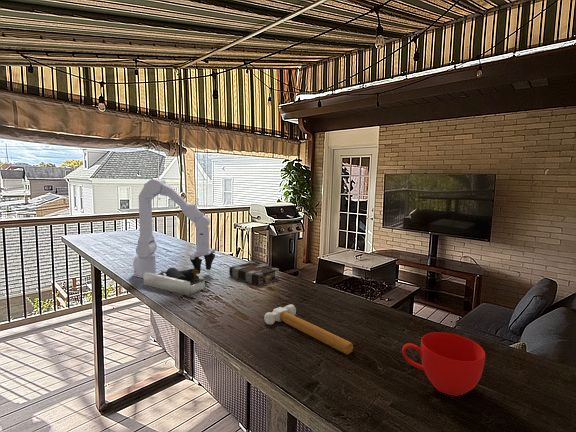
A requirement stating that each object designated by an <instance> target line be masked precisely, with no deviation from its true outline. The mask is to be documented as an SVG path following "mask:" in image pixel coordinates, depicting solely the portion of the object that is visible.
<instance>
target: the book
mask: <svg viewBox="0 0 576 432" xmlns="http://www.w3.org/2000/svg"><path fill="white" fill-rule="evenodd" d="M228 271H229V274H228V275H229V276H230V277H232V278H233V279H237V280H242V281H243V282H246V283H248V284H251V285H252V284H253V285H256V286H257V285H261V284H263V283H267V284H268V283H270V282H271V284H274V283H275V280H276V279H279V278H280V276H279V275H277V274H276V272H279V271H280V268H277V267H272V266H269V265H268V264H265V263H262V262H260V263H257V262H256V261H248V262H246V263H242V264H238V265H236V264H235V265H232V266H230V267H229V270H228Z"/></svg>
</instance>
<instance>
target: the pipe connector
mask: <svg viewBox="0 0 576 432" xmlns="http://www.w3.org/2000/svg"><path fill="white" fill-rule="evenodd" d="M165 276H167V277H171V278H175V279H180V280H184V281H188V282H194V281H198V279H200V276H199V270H197V269H196V268H194V267H193V268H190V269H189V268H188V269H184V270H178V269H177V268H176V267H169V268H168V269H167V270H166V273H165Z"/></svg>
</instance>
